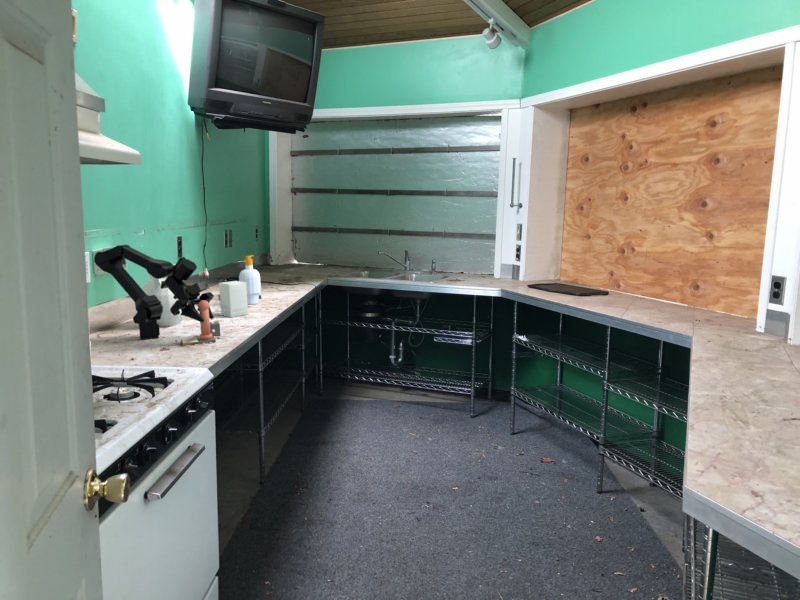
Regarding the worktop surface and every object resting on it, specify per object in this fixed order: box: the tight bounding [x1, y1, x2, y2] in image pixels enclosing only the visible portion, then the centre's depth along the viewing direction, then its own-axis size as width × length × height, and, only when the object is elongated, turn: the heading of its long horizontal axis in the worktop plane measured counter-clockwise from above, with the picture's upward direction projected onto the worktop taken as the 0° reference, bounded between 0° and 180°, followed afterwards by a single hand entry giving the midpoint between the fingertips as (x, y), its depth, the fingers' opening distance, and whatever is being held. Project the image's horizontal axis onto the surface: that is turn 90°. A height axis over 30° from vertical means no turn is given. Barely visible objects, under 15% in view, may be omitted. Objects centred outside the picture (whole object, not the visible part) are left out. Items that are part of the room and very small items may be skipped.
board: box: [180, 336, 217, 347], centre depth 198 cm, size 11×7×1 cm, turn 116°
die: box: [210, 321, 221, 337], centre depth 207 cm, size 5×6×6 cm
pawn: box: [197, 300, 213, 340], centre depth 197 cm, size 4×4×14 cm
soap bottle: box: [238, 255, 262, 306], centre depth 271 cm, size 10×10×24 cm
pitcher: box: [141, 263, 186, 327], centre depth 227 cm, size 19×18×25 cm
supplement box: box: [218, 280, 249, 318], centre depth 245 cm, size 9×9×15 cm
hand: (208, 319), depth 197 cm, fingers open, 5 cm apart
